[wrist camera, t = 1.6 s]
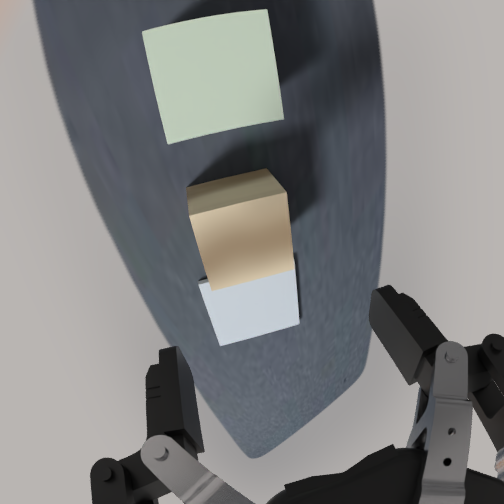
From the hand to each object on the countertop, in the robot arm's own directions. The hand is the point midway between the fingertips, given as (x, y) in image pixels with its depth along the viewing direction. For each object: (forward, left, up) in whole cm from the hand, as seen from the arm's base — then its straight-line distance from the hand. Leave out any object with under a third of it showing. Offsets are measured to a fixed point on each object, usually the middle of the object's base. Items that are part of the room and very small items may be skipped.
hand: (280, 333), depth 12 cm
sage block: (-9, 0, -10) cm, 14 cm away
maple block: (0, 0, -10) cm, 10 cm away
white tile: (+8, 0, -10) cm, 13 cm away
